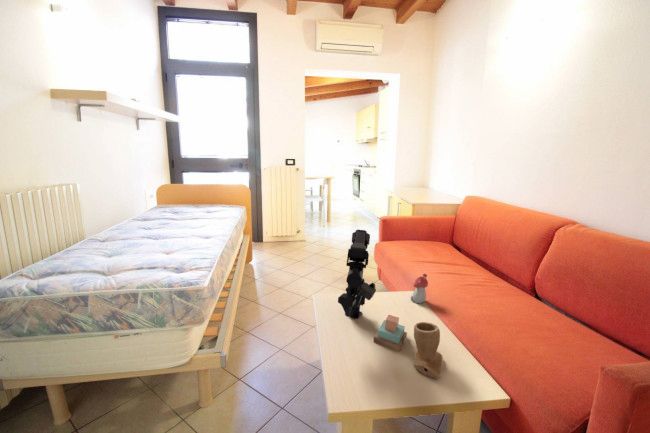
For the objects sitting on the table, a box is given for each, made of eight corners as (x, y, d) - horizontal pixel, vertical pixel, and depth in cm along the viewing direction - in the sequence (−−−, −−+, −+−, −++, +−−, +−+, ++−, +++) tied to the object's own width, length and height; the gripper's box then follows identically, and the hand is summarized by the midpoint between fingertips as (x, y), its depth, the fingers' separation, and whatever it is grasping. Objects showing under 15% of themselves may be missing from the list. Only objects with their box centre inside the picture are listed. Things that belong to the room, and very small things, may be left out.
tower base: (381, 330, 137) (382, 324, 136) (406, 338, 132) (407, 332, 131) (373, 343, 127) (374, 336, 126) (399, 352, 122) (400, 346, 121)
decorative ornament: (421, 296, 169) (425, 271, 166) (429, 302, 164) (433, 276, 160) (407, 299, 166) (411, 273, 163) (415, 305, 160) (419, 278, 157)
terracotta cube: (387, 324, 131) (388, 314, 130) (397, 327, 129) (399, 317, 128) (384, 329, 127) (385, 319, 126) (395, 332, 125) (396, 322, 124)
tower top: (383, 325, 135) (384, 319, 134) (403, 332, 131) (404, 326, 130) (377, 336, 127) (378, 330, 126) (398, 343, 123) (399, 337, 122)
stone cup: (413, 347, 125) (417, 314, 122) (443, 357, 120) (449, 323, 117) (405, 370, 112) (410, 333, 108) (439, 382, 107) (445, 344, 103)
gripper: (366, 290, 111) (362, 328, 115) (381, 274, 127) (378, 307, 131) (338, 283, 116) (335, 319, 120) (357, 267, 132) (354, 300, 136)
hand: (352, 311), depth 126 cm, fingers open, 9 cm apart
